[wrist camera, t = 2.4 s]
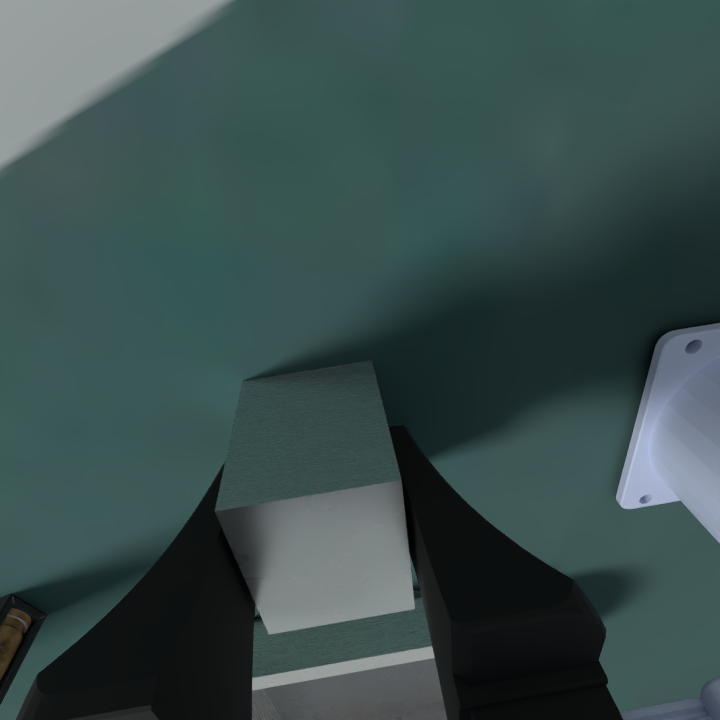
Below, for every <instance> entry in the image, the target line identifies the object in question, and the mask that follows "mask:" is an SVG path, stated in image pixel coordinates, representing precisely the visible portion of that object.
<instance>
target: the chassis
mask: <svg viewBox="0 0 720 720" xmlns="http://www.w3.org/2000/svg"><path fill="white" fill-rule="evenodd" d="M413 595H414V604H415V609H412V610H407V611H401V612H395V613H390V614H384V615H378V616H373V617H367V618H361V619H356V620H350V621H344V622H338V623H333V624H327V625H321V626H316V627H310V628H304V629H299V630H293V631H287V632H282V633H276V634H270V635H269V634H268V631H267V629H266V627H265V625H264V622H263V620H262V618H257V619H254V638H253V672H252V720H447V716H446V711H445V706H444V701H443V696H442V691H441V686H440V682H439V677H438V672H437V667H436V662H435V657H434V652H433V648H432V643H431V638H430V633H429V629H428V624H427V619H426V615H425V610H424V605H423V601H422V596H421V591H420V590H417V591H413Z"/></svg>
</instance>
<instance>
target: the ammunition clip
mask: <svg viewBox="0 0 720 720" xmlns="http://www.w3.org/2000/svg"><path fill="white" fill-rule="evenodd" d="M45 618H46V615H44V614H43V613H41V612H39V611H38V610H36V609H34V608H33V607H31V606H29V605H28V604H26V603H24V602H23V601H21V600H19V599H18V598H16V597H14V596H13V595H11V594H9V595H6V596H4V597H1V598H0V705H1V703H2V701H3V699H4V697H5V695H6V693H7V691H8V689H9V687H10V685H11V683H12V681H13V679H14V677H15V676H16V674H17V672H18V670H19V668H20V666H21V664H22V662H23V660H24V658H25V656H26V654H27V652H28V650H29V649H30V647H31V645H32V643H33V641H34V639H35V637H36V635H37V633H38V631H39V629H40V627H41V625H42V623H43V621H44V620H45Z"/></svg>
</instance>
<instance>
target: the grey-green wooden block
mask: <svg viewBox="0 0 720 720" xmlns="http://www.w3.org/2000/svg"><path fill="white" fill-rule="evenodd" d="M215 513H216V515H217V518H218V520H219V522H220V524H221V527H222V529H223V531H224V534H225V536H226V538H227V540H228V543H229V545H230V547H231V550H232V552H233V554H234V556H235V559H236V561H237V563H238V565H239V568H240V570H241V572H242V575H243V577H244V579H245V581H246V584H247V586H248V588H249V590H250V593H251V595H252V597H253V600H254V602H255V604H256V606H257V609H258V611H259V613H260V616H261V618H262V620H263V622H264V625H265V627H266V629H267V631H268V634H269V635H270V634H276V633H282V632H287V631H293V630H299V629H304V628H310V627H316V626H321V625H327V624H333V623H338V622H344V621H350V620H356V619H361V618H367V617H373V616H378V615H384V614H390V613H395V612H401V611H407V610H412V609H415V604H414V595H413V585H412V575H411V566H410V556H409V547H408V537H407V527H406V518H405V508H404V498H403V489H402V480H401V476H400V472H399V468H398V463H397V459H396V455H395V451H394V447H393V443H392V439H391V435H390V431H389V427H388V423H387V419H386V415H385V411H384V407H383V403H382V399H381V395H380V391H379V387H378V383H377V379H376V375H375V371H374V367H373V362H372V360H369V361H363V362H357V363H351V364H344V365H338V366H332V367H326V368H320V369H313V370H307V371H301V372H295V373H289V374H282V375H276V376H270V377H264V378H258V379H251V380H245V381H242V386H241V390H240V395H239V400H238V404H237V409H236V414H235V419H234V423H233V428H232V433H231V437H230V442H229V447H228V451H227V456H226V461H225V465H224V470H223V475H222V480H221V484H220V489H219V494H218V498H217V503H216V508H215Z"/></svg>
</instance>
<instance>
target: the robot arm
mask: <svg viewBox="0 0 720 720" xmlns="http://www.w3.org/2000/svg"><path fill="white" fill-rule="evenodd" d="M691 341H692V342H691ZM690 342H691V343H690ZM689 343H690V344H689ZM688 344H689V345H688ZM687 345H688V346H687ZM686 346H687V347H686ZM389 431H390V435H391V439H392V443H393V447H394V451H395V455H396V459H397V463H398V468H399V472H400V476H401V480H402V489H403V498H404V508H405V518H406V527H407V537H408V547H409V553H410V556H411V559H412V562H413V566H414V569H415V572H416V576H417V579H418V583H419V587H420V591H421V596H422V601H423V605H424V610H425V615H426V619H427V624H428V629H429V633H430V638H431V643H432V648H433V652H434V657H435V662H436V667H437V672H438V677H439V682H440V686H441V691H442V696H443V701H444V706H445V711H446V716H447V720H720V677H718V678H715V679H713V680H711V681H709V682H707V683H706V684H705V685H704V686H703V688H702V690H701V693H700V697H698V698H692V699H687V700H681V701H676V702H671V703H665V704H660V705H654V706H649V707H643V708H638V709H633V710H627V711H622V712H619V710H618V708H617V706H616V704H615V702H614V700H613V698H612V696H611V694H610V692H609V690H608V688H607V686H606V684H607V683H608V679H607V676H606V674H605V672H604V670H603V668H602V666H601V664H600V662H599V656H600V653H601V650H602V647H603V644H604V641H605V638H606V628H605V626H604V624H603V622H602V620H601V618H600V616H599V614H598V613H597V611H596V609H595V608H594V606H593V605H592V604H591V602H590V601H589V599H588V598H587V597H586V595H585V594H584V592H583V591H582V590H581V589H580V587H579V586H578V585H577V583H576V582H575V581H574V580H573V579H571V578H569V577H568V576H566V575H564V574H562V573H561V572H559V571H557V570H556V569H554V568H552V567H551V566H549V565H548V564H546V563H544V562H543V561H541V560H540V559H538V558H537V557H535V556H534V555H532V554H531V553H529V552H528V551H526V550H525V549H523V548H522V547H520V546H519V545H518V544H516V543H515V542H514V541H512V540H511V539H510V538H509V537H507V536H506V535H505V534H503V533H502V532H501V531H499V530H498V529H497V528H495V527H494V526H493V525H492V524H490V523H489V522H488V521H487V520H486V519H485V518H483V517H482V516H481V515H480V514H479V513H478V512H477V511H475V510H474V509H473V508H472V507H471V506H470V505H469V504H468V503H467V502H466V501H465V500H464V499H463V498H462V497H461V496H460V495H459V494H458V493H457V492H456V491H455V490H454V489H453V488H452V487H451V486H450V485H449V484H448V483H447V482H446V480H445V479H444V478H443V477H442V476H441V475H440V474H439V472H438V471H437V470H436V469H435V467H434V466H433V465H432V464H431V463H430V461H429V460H428V459H427V458H426V456H425V455H424V454H423V452H422V451H421V449H420V448H419V447H418V445H417V444H416V442H415V441H414V439H413V438H412V436H411V434H410V433H409V431H408V429H407V427H405V426H404V425H400V426H394V427H389ZM225 461H226V460H225ZM224 465H225V462H224V464H223V466H222V467H221V469H220V471H219V473H218V474H217V476H216V478H215V479H214V481H213V483H212V484H211V486H210V488H209V489H208V491H207V492H206V494H205V496H204V497H203V499H202V500H201V502H200V503H199V505H198V506H197V508H196V510H195V511H194V513H193V514H192V516H191V517H190V518H189V520H188V521H187V523H186V524H185V525H184V527H183V528H182V530H181V531H180V532H179V534H178V535H177V537H176V538H175V539H174V541H173V542H172V543H171V545H170V546H169V547H168V548H167V550H166V551H165V552H164V553H163V555H162V556H161V557H160V558H159V560H158V561H157V562H156V563H155V564H154V566H153V567H152V568H151V569H150V570H149V571H148V572H147V574H146V575H145V576H144V577H143V578H142V579H141V580H140V581H139V582H138V583H137V584H136V585H135V587H134V588H133V589H132V590H131V591H130V592H129V593H128V594H127V595H126V596H125V597H124V598H123V599H122V600H121V601H120V602H119V603H118V604H117V605H116V606H115V607H114V608H113V609H112V610H111V611H110V612H109V613H108V614H107V615H106V616H105V617H104V618H103V619H102V620H101V621H99V622H98V623H97V624H96V625H95V626H94V627H93V628H92V629H91V630H90V631H89V632H87V633H86V634H85V635H84V636H83V637H82V638H81V639H79V640H78V641H77V642H76V643H75V644H74V645H72V646H71V647H70V648H69V649H68V650H66V651H65V652H64V653H63V654H62V655H60V656H59V657H58V658H57V659H56V660H54V661H53V662H52V663H51V664H50V665H48V666H47V667H46V668H45V669H43V670H42V671H41V672H40V673H38V675H37V676H36V678H35V680H34V682H33V684H32V686H31V688H30V690H29V692H28V694H27V696H26V698H25V701H24V703H23V705H22V707H21V710H20V712H19V714H18V716H17V718H16V720H252V672H253V638H254V615H255V605H256V604H255V602H254V600H253V597H252V595H251V593H250V590H249V588H248V586H247V584H246V581H245V579H244V577H243V575H242V572H241V570H240V568H239V565H238V563H237V561H236V559H235V556H234V554H233V552H232V550H231V547H230V545H229V543H228V540H227V538H226V536H225V534H224V531H223V529H222V527H221V524H220V522H219V520H218V518H217V515H216V513H215V508H216V503H217V498H218V494H219V489H220V484H221V480H222V475H223V470H224ZM616 500H617V501H618V503H619V504H620V505H621V507H622V508H625V509H634V508H639V507H645V506H651V505H657V504H663V503H668V502H674V501H680V500H681V501H682V503H683V504H684V505H685V506H686V507H687V508H688V509H689V510H690V511H691V512H692V513H693V515H694V516H695V517H696V518H697V519H698V520H699V521H700V522H701V523H702V524H703V526H704V527H705V528H706V529H707V530H708V531H709V532H710V533H711V534H712V535H713V536H714V538H715V539H716V540H717V541H718V542H719V543H720V323H716V324H710V325H704V326H698V327H692V328H685V329H679V330H674V331H671V332H668V333H666V334H665V335H663V336H662V337H661V338H660V339H659V340H658V342H657V344H656V346H655V350H654V353H653V357H652V361H651V365H650V369H649V372H648V376H647V380H646V384H645V388H644V392H643V395H642V399H641V403H640V407H639V411H638V415H637V418H636V422H635V426H634V430H633V434H632V437H631V441H630V445H629V449H628V453H627V457H626V460H625V464H624V468H623V472H622V476H621V479H620V483H619V487H618V491H617V495H616Z"/></svg>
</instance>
